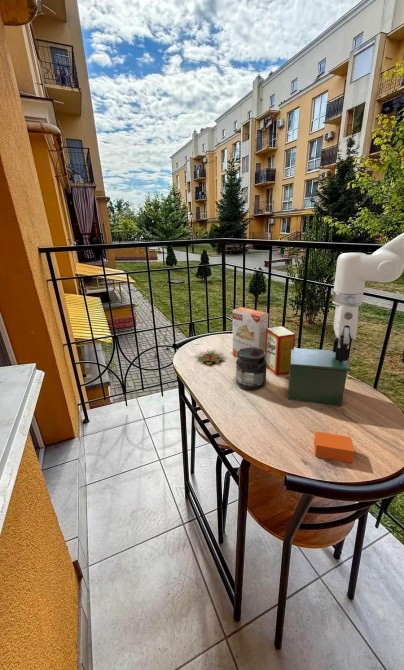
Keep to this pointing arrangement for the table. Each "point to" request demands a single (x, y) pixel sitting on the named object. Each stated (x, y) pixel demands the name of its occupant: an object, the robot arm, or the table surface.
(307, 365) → the bin lid
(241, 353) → the supplement container
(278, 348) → the baking soda box
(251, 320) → the cracker box
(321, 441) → the block
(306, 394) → the bin
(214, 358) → the green red plant
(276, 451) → the table surface
